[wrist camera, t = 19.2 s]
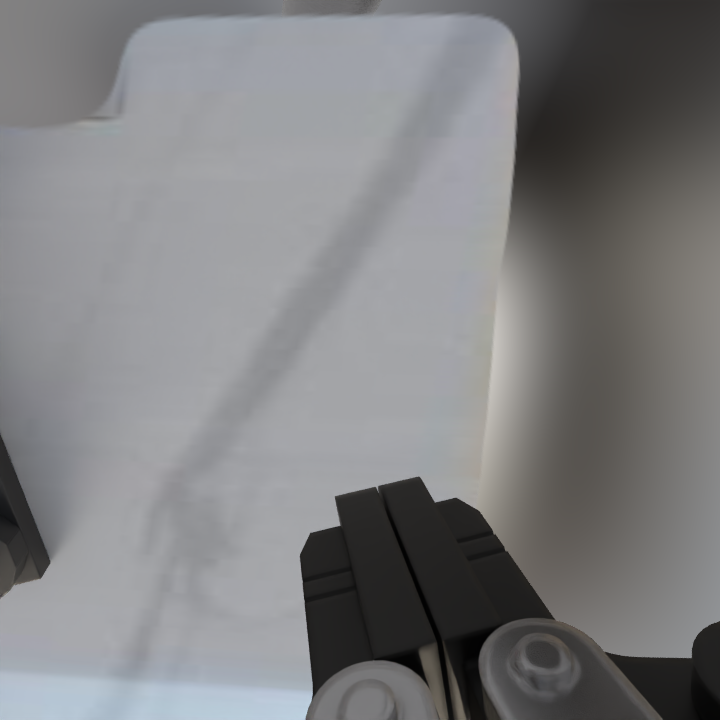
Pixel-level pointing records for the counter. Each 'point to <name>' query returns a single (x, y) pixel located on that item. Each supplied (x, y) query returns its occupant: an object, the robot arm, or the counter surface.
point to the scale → (17, 532)
